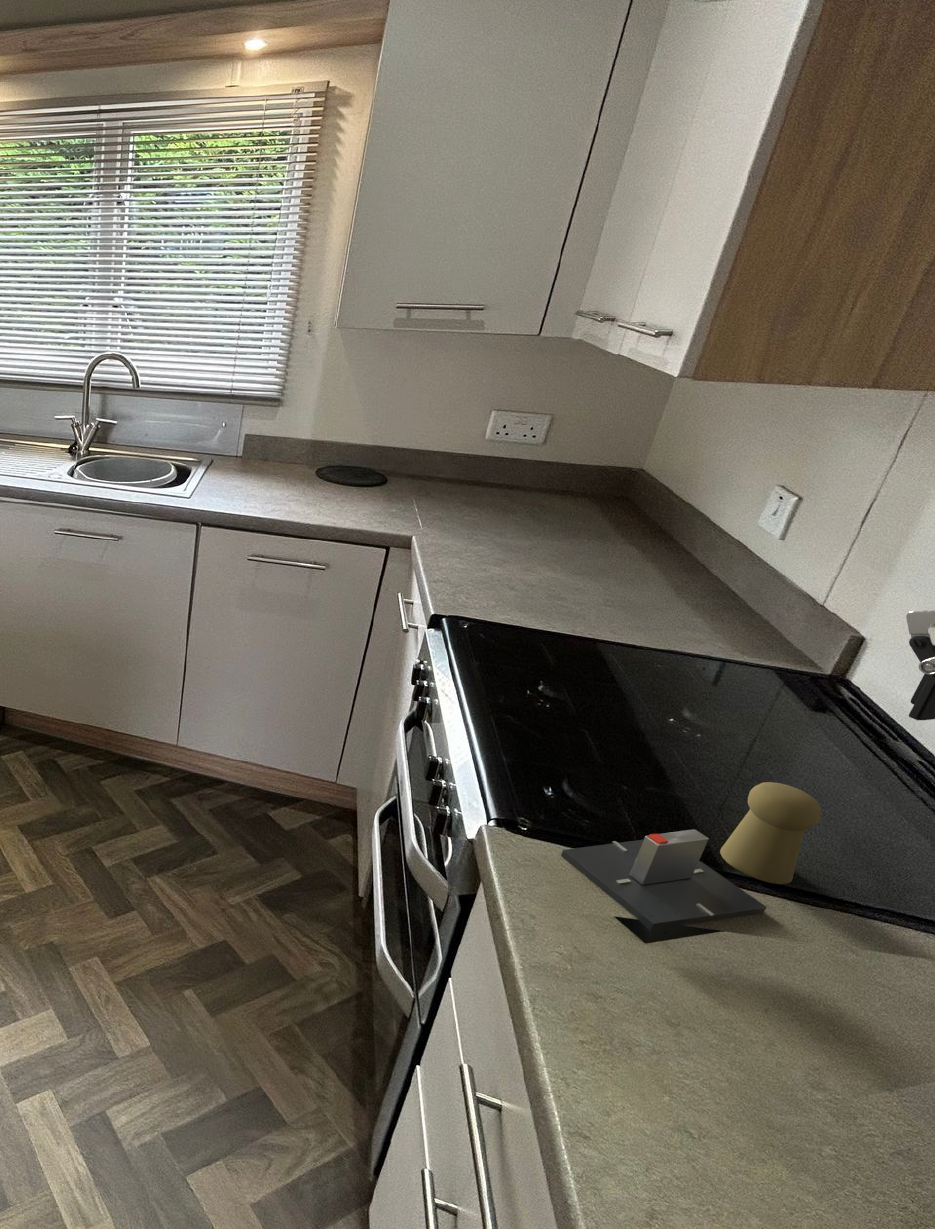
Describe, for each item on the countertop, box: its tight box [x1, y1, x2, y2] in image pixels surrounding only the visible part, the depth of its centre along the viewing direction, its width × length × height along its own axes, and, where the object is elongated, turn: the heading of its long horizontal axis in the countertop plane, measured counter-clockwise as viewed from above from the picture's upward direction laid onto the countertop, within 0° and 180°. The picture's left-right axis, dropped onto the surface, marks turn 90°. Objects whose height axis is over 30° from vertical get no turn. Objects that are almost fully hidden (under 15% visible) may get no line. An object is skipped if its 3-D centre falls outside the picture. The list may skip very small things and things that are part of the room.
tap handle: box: [630, 829, 710, 885], centre depth 75 cm, size 6×1×5 cm, turn 100°
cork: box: [719, 781, 822, 885], centre depth 78 cm, size 6×6×11 cm
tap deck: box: [560, 839, 767, 944], centre depth 76 cm, size 13×10×3 cm
